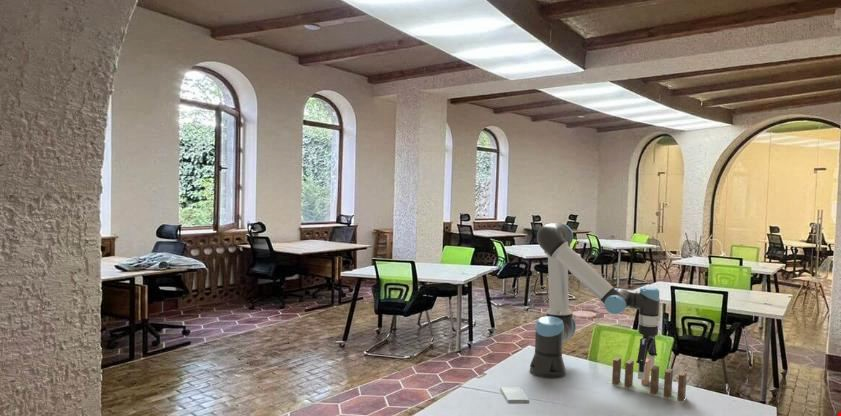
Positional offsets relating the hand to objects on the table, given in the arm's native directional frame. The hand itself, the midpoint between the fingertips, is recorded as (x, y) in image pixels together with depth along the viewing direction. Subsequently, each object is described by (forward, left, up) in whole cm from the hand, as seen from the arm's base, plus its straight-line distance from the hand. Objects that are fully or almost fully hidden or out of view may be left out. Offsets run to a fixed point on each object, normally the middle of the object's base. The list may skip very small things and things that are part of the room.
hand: (646, 374), depth 222 cm
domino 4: (+5, -8, -4) cm, 10 cm away
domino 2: (-5, -8, -4) cm, 10 cm away
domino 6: (+15, -8, -4) cm, 18 cm away
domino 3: (0, 0, -4) cm, 4 cm away
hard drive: (-35, -49, -5) cm, 61 cm away
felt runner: (+2, -8, -4) cm, 9 cm away
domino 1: (-10, -8, -4) cm, 13 cm away
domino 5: (+10, -8, -4) cm, 14 cm away
